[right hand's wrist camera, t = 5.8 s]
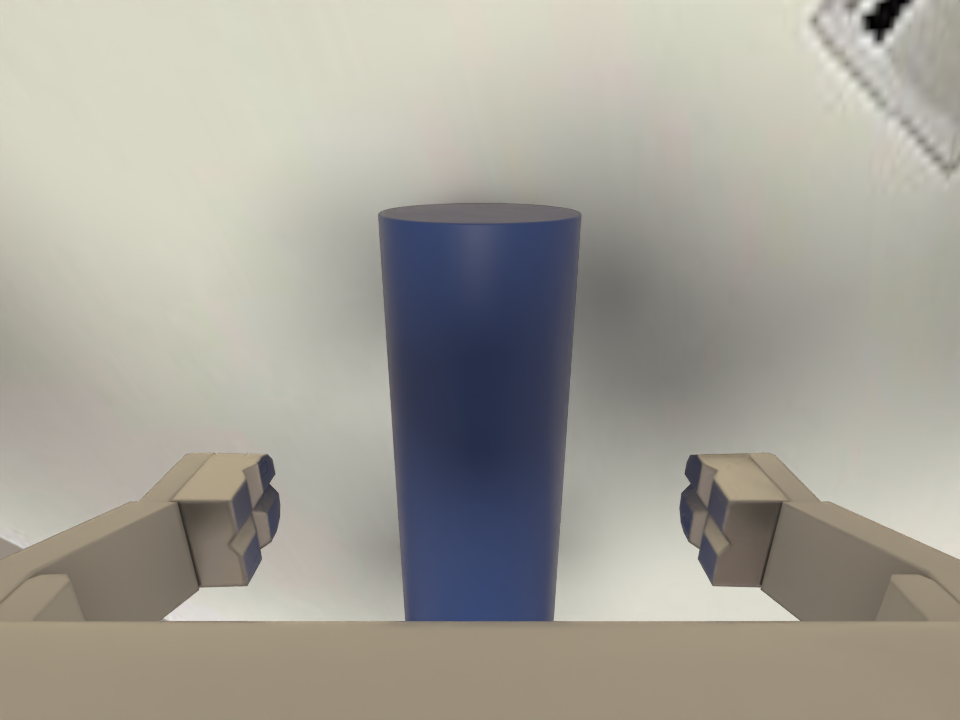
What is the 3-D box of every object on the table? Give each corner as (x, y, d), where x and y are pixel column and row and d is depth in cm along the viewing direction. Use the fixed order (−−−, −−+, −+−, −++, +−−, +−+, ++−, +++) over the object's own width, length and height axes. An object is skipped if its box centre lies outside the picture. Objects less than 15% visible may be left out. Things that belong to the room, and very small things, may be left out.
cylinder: (395, 202, 19) (357, 223, 13) (565, 203, 19) (601, 223, 13) (423, 710, 28) (408, 849, 22) (536, 711, 28) (549, 850, 22)
